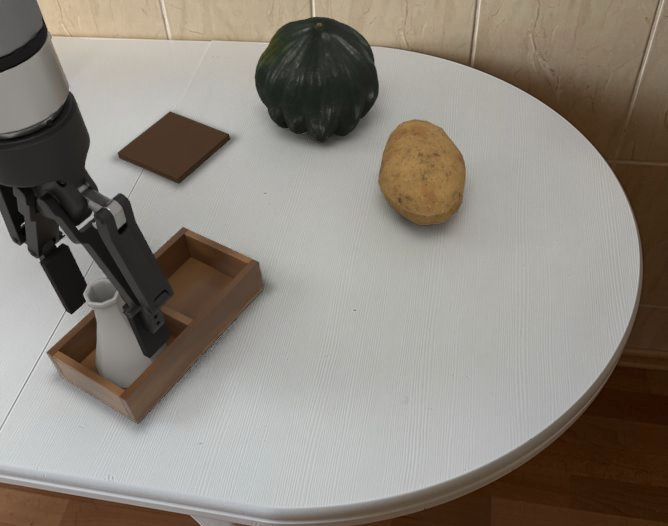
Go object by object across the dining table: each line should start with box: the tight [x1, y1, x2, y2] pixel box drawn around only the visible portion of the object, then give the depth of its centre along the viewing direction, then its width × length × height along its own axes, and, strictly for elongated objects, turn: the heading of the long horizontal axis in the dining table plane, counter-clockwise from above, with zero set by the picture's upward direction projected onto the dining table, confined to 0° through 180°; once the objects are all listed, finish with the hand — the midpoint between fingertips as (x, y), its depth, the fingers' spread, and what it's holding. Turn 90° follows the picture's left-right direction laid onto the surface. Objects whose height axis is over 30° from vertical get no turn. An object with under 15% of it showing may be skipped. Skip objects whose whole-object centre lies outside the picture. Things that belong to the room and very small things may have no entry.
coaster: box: [117, 110, 231, 184], centre depth 88 cm, size 10×10×1 cm
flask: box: [83, 277, 168, 388], centre depth 64 cm, size 7×7×10 cm
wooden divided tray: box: [46, 226, 265, 425], centre depth 69 cm, size 10×19×4 cm, turn 147°
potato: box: [377, 118, 467, 226], centre depth 77 cm, size 10×14×8 cm
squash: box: [254, 16, 380, 143], centre depth 86 cm, size 14×15×15 cm
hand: (117, 324), depth 64 cm, fingers open, 9 cm apart
